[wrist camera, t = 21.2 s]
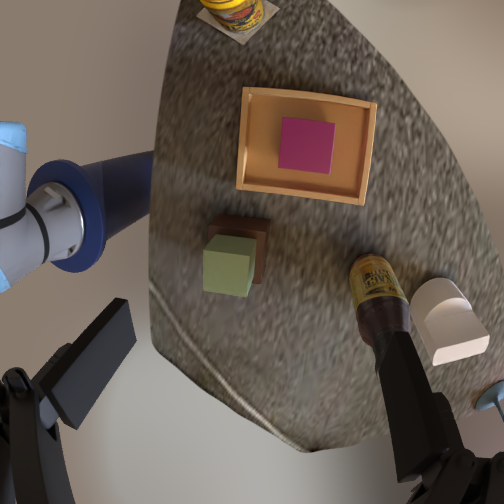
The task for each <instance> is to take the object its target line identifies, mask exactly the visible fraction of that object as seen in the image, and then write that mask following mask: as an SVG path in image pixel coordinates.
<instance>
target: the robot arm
mask: <svg viewBox="0 0 504 504" xmlns="http://www.w3.org/2000/svg"><path fill="white" fill-rule="evenodd" d="M26 136H27V131H26V128H25V126H24V125H23V124H22V123H20V122H4V121H0V293H2V292H3V291H5V290H8V289H9V288H10V287H11V286H12V285H14V284H15V283H16V282H17V281H19V280H20V279H22V278H23V277H24V276H26V275H27V274H29V273H30V272H32V271H33V270H34V269H36V268H37V267H39V266H40V265H41V264H43V263H45V262H49V261H55V260H61V259H66V258H69V257H71V256H73V255H74V254H76V253H77V252H78V251H79V250H80V249H81V248H82V246H83V244H84V241H85V238H86V219H85V214H84V211H83V208H82V205H81V203H80V201H79V199H78V197H77V196H76V194H75V193H74V192H73V190H72V189H71V188H70V187H68V186H67V185H66V184H64V183H62V182H59V181H52V182H48V183H45V184H43V185H42V186H40V187H39V188H37V189H36V190H35V191H34V192H33V193H32V194H31V195H30V196H29V197H28V198H27V199H26V198H25V197H26V195H25V174H26V171H25V170H26V169H25V168H26V154H27V150H26ZM136 341H137V340H136V336H135V332H134V327H133V323H132V319H131V314H130V309H129V304H128V300H126V299H121V298H115V299H114V300H113V301H112V302H111V303H110V304H109V305H108V306H107V307H106V308H105V309H104V310H103V311H102V312H101V313H100V314H99V315H98V317H96V319H95V320H94V321H93V322H92V323H91V324H90V325H89V326H88V327H87V328H86V329H85V330H84V331H83V333H82V334H81V335H80V336H79V337H78V338H77V339H76V340H75V341H74V342H73V344H70V343H67V344H65V345H64V346H62V347H60V348H59V349H58V350H57V351H56V352H55V354H54V355H53V356H52V357H51V358H50V359H49V361H48V362H46V364H45V365H44V366H43V367H42V368H41V369H40V371H39V372H38V373H37V374H36V375H35V376H34V377H33V378H32V380H31V381H30V379H29V377H28V376H27V374H26V372H25V371H24V370H23V369H22V368H19V367H14V368H11V369H9V370H8V371H6V372H5V374H4V375H3V377H2V382H3V383H4V384H3V383H2V382H1V380H0V504H15V500H16V501H17V504H75V501H74V497H73V494H72V490H71V486H70V482H69V478H68V475H67V470H66V465H65V461H64V456H63V451H62V446H61V440H60V433H59V426H58V423H57V421H56V420H57V418H58V417H60V418H61V420H62V421H63V423H64V424H66V425H68V426H70V427H72V428H74V429H76V430H77V429H78V428H79V426H80V425H81V423H82V422H83V420H84V418H85V417H86V415H87V414H88V412H89V411H90V409H91V407H92V406H93V405H94V403H95V402H96V400H97V399H98V397H99V396H100V394H101V392H102V391H103V389H104V388H105V386H106V385H107V383H108V382H109V380H110V379H111V378H112V376H113V374H114V373H115V372H116V370H117V369H118V367H119V366H120V364H121V363H122V361H123V360H124V359H125V357H126V355H127V354H128V353H129V351H130V350H131V348H132V347H133V346H134V344H135V343H136ZM378 374H379V378H380V383H381V387H382V392H383V396H384V401H385V406H386V411H387V416H388V422H389V427H390V433H391V438H392V445H393V451H394V458H395V464H396V473H397V481H398V483H402V482H409V481H414V480H416V478H418V477H419V476H420V475H422V482H420V483H419V484H418V485H417V486H416V487H414V488H413V489H412V490H411V492H414V491H415V492H414V493H413V495H412V496H411V497H410V499H409V500H408V502H407V503H406V504H504V452H499V453H497V454H496V455H495V456H494V457H493V458H478V457H475V455H474V453H472V452H471V451H470V450H468V449H465V448H464V446H463V443H462V439H461V436H460V433H459V430H458V427H457V424H456V421H455V419H454V415H453V412H451V410H452V409H451V407H450V404H449V401H448V400H447V398H446V397H445V396H444V395H443V394H442V392H437V393H432V390H431V388H430V385H429V382H428V379H427V377H426V374H425V371H424V369H423V366H422V364H421V361H420V359H419V356H418V354H417V351H416V349H415V346H414V344H413V341H412V339H411V337H410V334H409V332H405V331H394V334H393V336H392V339H391V342H390V344H389V347H388V349H387V352H386V354H385V357H384V359H383V361H382V364H381V366H380V368H379V371H378Z"/></svg>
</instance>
